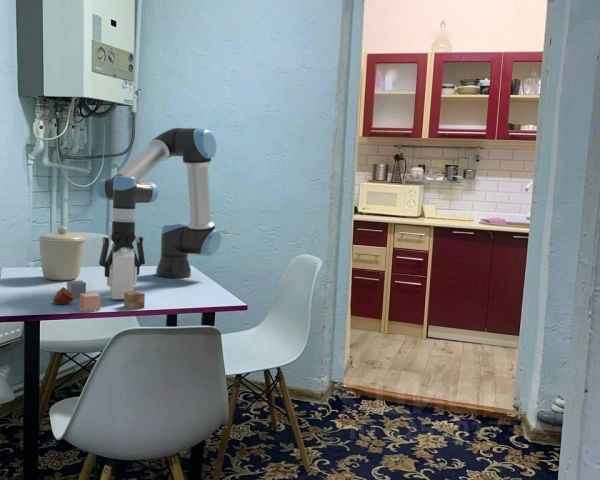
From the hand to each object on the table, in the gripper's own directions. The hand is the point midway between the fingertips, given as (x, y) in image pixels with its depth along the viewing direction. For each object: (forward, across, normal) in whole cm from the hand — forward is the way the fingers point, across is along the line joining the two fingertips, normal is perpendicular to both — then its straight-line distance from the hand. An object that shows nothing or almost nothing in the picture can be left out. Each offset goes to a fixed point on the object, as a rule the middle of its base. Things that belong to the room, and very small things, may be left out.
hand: (121, 285), depth 199 cm
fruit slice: (+5, +19, -1) cm, 20 cm away
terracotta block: (+5, +14, +10) cm, 18 cm away
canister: (+5, +8, -44) cm, 45 cm away
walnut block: (+5, 0, +12) cm, 13 cm away
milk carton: (+5, 0, 0) cm, 5 cm away
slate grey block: (+5, +12, -11) cm, 17 cm away
